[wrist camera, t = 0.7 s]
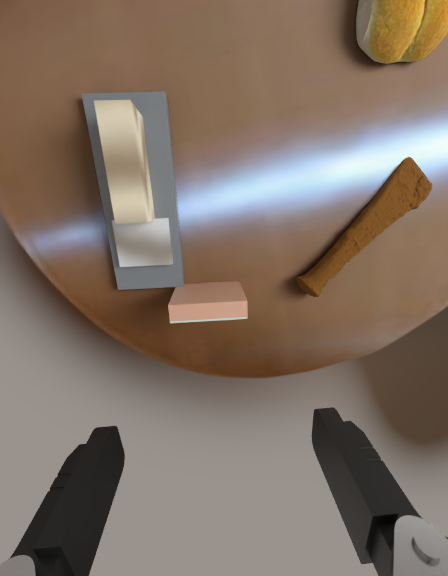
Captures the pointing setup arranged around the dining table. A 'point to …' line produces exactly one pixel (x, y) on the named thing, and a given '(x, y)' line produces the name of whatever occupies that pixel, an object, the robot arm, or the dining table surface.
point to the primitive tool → (370, 223)
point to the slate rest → (162, 185)
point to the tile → (208, 302)
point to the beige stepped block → (131, 187)
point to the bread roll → (400, 28)
